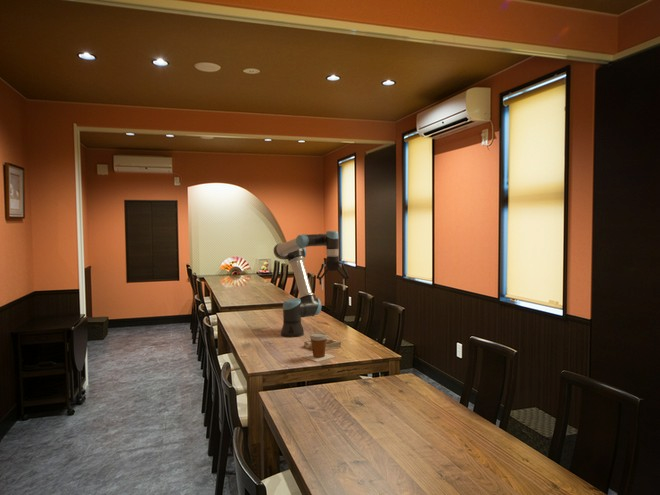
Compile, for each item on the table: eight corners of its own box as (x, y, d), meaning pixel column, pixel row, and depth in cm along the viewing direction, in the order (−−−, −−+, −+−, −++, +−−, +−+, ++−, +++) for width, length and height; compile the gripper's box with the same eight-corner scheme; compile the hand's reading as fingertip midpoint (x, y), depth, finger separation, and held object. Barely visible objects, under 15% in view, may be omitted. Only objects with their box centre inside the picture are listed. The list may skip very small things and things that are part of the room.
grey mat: (302, 356, 258) (302, 356, 258) (320, 352, 266) (320, 351, 266) (317, 362, 248) (317, 361, 248) (335, 357, 256) (335, 356, 256)
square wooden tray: (304, 346, 279) (304, 341, 279) (324, 342, 289) (324, 337, 289) (320, 351, 267) (320, 346, 267) (340, 346, 277) (340, 341, 277)
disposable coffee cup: (325, 359, 251) (325, 337, 251) (308, 358, 253) (308, 336, 253) (329, 354, 261) (328, 332, 260) (312, 353, 263) (312, 332, 262)
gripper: (311, 256, 287) (312, 290, 288) (352, 256, 285) (352, 290, 287) (313, 255, 295) (313, 289, 296) (352, 255, 293) (353, 288, 294)
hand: (333, 289), depth 291 cm, fingers open, 13 cm apart
